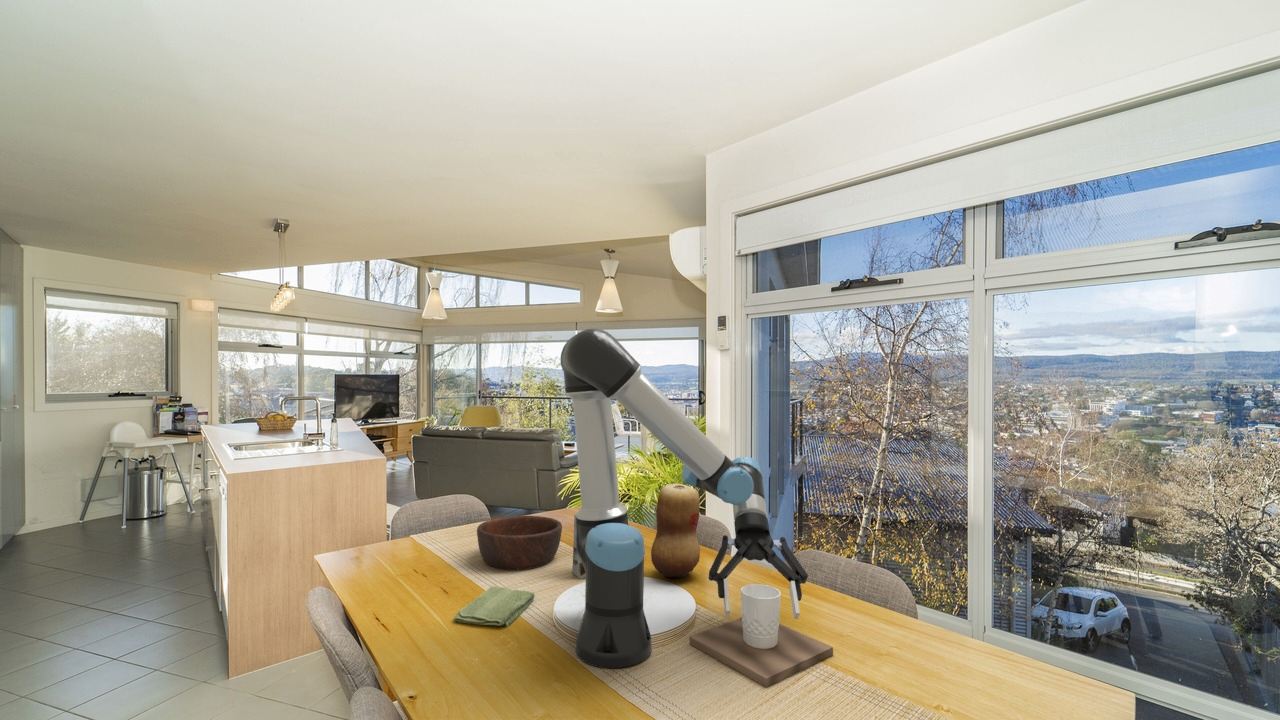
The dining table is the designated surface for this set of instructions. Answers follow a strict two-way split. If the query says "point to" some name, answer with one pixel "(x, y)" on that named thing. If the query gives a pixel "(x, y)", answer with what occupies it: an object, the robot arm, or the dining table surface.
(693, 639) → the walnut board
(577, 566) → the coffee box
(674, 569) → the butternut squash
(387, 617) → the dining table surface
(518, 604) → the washcloth
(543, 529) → the wooden bowl
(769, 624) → the white cup
